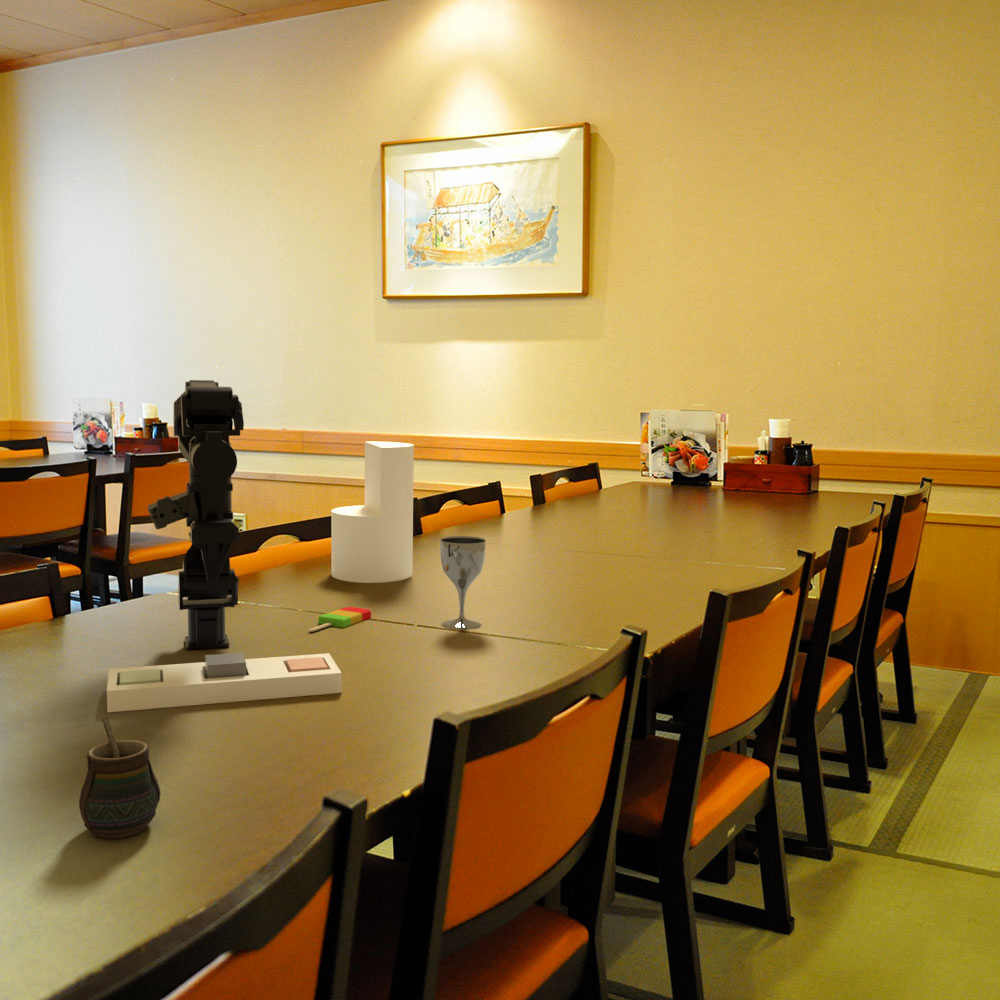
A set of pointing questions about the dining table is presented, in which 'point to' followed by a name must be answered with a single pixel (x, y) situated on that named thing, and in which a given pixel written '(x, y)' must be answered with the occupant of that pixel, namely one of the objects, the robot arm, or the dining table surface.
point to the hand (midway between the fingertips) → (212, 583)
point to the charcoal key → (225, 665)
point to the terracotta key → (306, 664)
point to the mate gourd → (118, 788)
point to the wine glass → (462, 570)
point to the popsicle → (342, 617)
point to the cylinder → (377, 520)
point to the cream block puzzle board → (221, 684)
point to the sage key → (139, 676)
